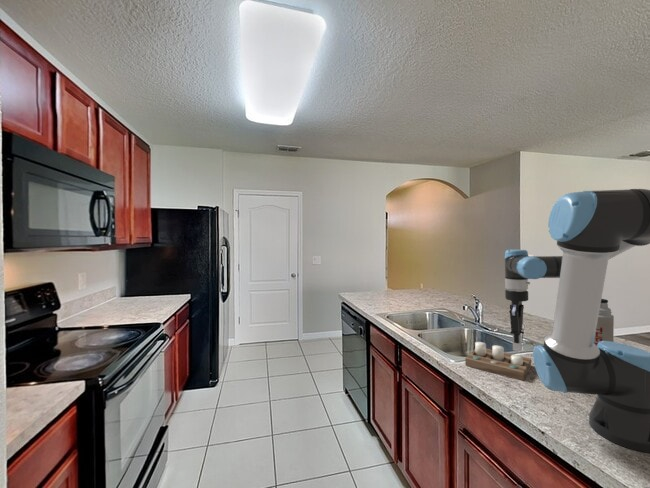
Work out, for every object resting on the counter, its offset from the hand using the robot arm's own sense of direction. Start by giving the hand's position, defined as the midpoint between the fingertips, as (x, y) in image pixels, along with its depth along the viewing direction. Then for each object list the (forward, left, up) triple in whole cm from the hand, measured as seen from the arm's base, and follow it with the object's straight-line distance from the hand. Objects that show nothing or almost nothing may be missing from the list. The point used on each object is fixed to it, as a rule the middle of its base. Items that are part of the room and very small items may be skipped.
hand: (517, 350), depth 118 cm
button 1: (0, 0, -8) cm, 8 cm away
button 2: (0, +7, -5) cm, 9 cm away
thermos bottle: (+16, -23, -8) cm, 30 cm away
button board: (0, +7, -8) cm, 10 cm away
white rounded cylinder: (0, +13, -5) cm, 14 cm away
